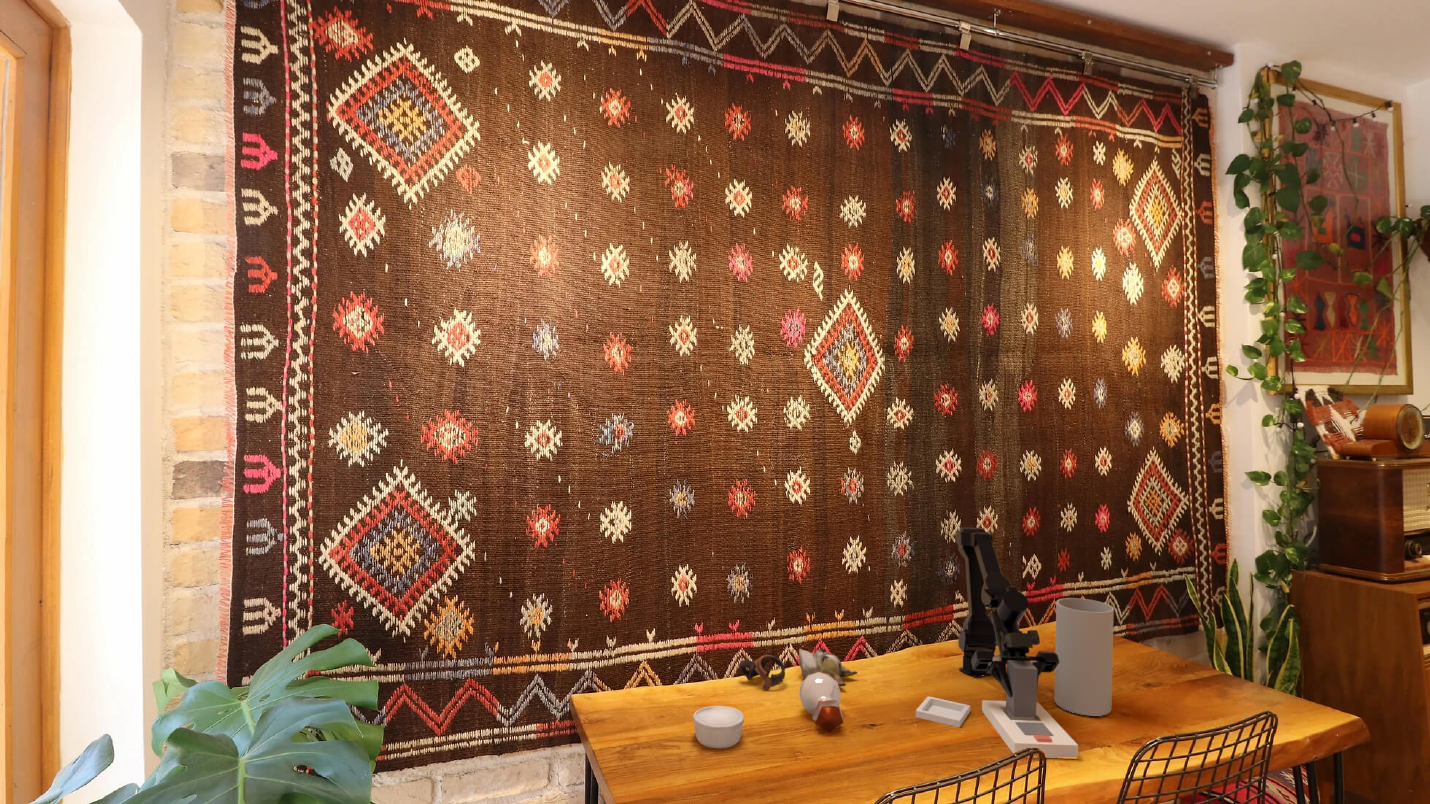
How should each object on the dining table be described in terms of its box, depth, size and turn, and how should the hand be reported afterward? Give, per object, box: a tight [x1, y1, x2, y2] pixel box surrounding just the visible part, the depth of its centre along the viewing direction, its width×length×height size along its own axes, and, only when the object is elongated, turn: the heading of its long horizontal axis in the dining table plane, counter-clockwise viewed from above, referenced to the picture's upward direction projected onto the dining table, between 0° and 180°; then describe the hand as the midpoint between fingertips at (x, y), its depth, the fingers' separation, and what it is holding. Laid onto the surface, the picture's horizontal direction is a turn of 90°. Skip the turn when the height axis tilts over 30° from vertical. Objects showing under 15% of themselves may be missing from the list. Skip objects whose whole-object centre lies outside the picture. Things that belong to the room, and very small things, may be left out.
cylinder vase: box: [1054, 597, 1115, 716], centre depth 184 cm, size 12×12×25 cm
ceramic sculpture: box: [798, 648, 858, 687], centre depth 198 cm, size 11×9×15 cm
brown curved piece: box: [738, 654, 786, 691], centre depth 196 cm, size 12×10×8 cm
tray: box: [915, 696, 971, 728], centre depth 177 cm, size 10×10×2 cm
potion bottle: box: [798, 672, 844, 734], centre depth 175 cm, size 10×10×15 cm
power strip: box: [981, 699, 1079, 759], centre depth 168 cm, size 22×13×4 cm, turn 177°
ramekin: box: [692, 705, 745, 750], centre depth 164 cm, size 11×11×5 cm
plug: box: [1005, 660, 1038, 721], centre depth 172 cm, size 5×5×13 cm
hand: (1023, 696), depth 171 cm, fingers closed on plug, 5 cm apart
